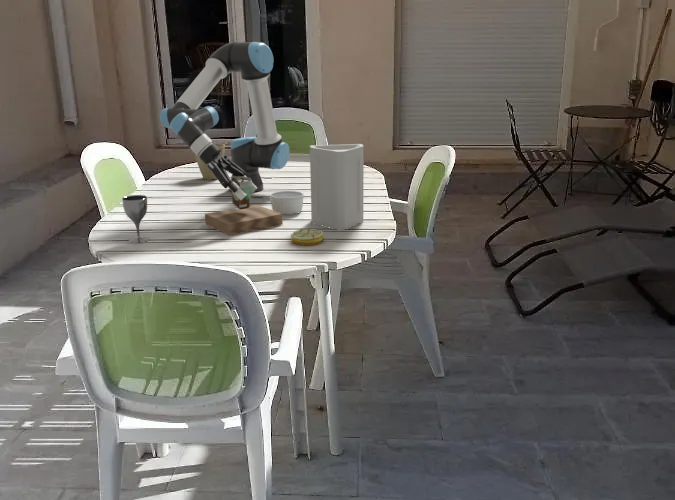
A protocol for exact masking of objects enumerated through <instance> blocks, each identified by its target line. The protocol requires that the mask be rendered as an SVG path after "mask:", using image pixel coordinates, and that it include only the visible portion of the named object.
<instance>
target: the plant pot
mask: <svg viewBox="0 0 675 500" xmlns="http://www.w3.org/2000/svg"><path fill="white" fill-rule="evenodd" d="M213 143H214V142H213ZM214 144H216V145H217V146H218V147H219V148H220V150H221V152H220V155H221V156H222V157H224V156H225V150H226V149H225V148H226V145H225V144H224V143H214ZM194 156H195V160H196V163H197V166H198V169H199V171H200V174H201V176H202V178H203V180H206V179H207V181H212V180H211V179H215V180H218V179H217V178H216V176H215V175H214V173H213V172H212V171H211V170H210V169H209V168H208V165H209V164H210V163H209V164H205V163H204V162H203V161H202V160H201V159H200V156H197V155H196V154H195V153H194Z"/></svg>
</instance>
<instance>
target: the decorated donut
mask: <svg viewBox="0 0 675 500" xmlns="http://www.w3.org/2000/svg"><path fill="white" fill-rule="evenodd" d="M290 239H291V242H292V243H293V244H295V245H299V246H315V245H318V244H320V243H321V242H323V239H324V232H323V231H322V230H320V229H315V228H302V229H297V230H295V231H293V232H292V233H291V234H290Z"/></svg>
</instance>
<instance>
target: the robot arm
mask: <svg viewBox="0 0 675 500" xmlns="http://www.w3.org/2000/svg"><path fill="white" fill-rule="evenodd" d="M273 67H274V55H273V52H272V50H271V48H270V46H268V45H267V44H266V43H264V42H258V41H246V42H245V41H242V42H240V41H238V42H237V41H234V42H233V41H232V42H228V43H226V44H224V45H222V46H220V47H219V48H217V49H216V50H215V51H214V52H213V53H211V55H210V56H209V57H208V58H207V60H206V61H205V67H203V69H202V70H201V71H200V72H199V74H198V75H197V76H196V77H195V78H194V80H193V81H192V82H191V84H190V85H189V86H188V87H187V88H186V90H184V92H183V94H181V96H180V97H179V98H178V99H177V101H176V102H175V103H174V105H173V106H172V107H166V108H165V107H164V108H163V109H162V110H161V112H160V113H159V121H160V123H161V124H162V126H163V127H165V128H167V129H171V130H172V131H173V132H174V133H175V135H176V136H177V137H179V139H180V140H182V142H183V143H185V144H186V146H187V147H188V148H189V149H191V150H192V153H194V155H195V154H196V155H197V156H200V159H201V160H202V161H203V162H204V163H205V164H209V163H210V164H209V165H208V168H209V169H210V170H211V171H212V172H213V173H214V175H215V176H216V178H217V179H216V180H218V182H219V183H220V185H221V186H222V187H223V188H224V189H229V191H230V192H231V193H232V192H233V193H234V194H235V195H236V196H237V197H238V198H239V199H240V200H242V199H243V198H244V197H245V196H246V194H245V193H244V192H243V191H242V190H241V189H240V188H239V187H238V186H237V185H236V184H235V183H234V182H232V181H231V177H230V176H229V174H231V176H242V177H248V178H250V179H251V180H252V184H253V186H251V193H250V194H253V193H257V192H261V191H263V190H264V182H263V179H262V176H261V174H260V169H268V170H281V169H283V168H284V167H285V166H286V165H287V163H288V161H289V158H290V146H289V144H288V143H287V142H285V141H283V138H282V135H281V134H279V133H278V130H277V126H276V125H277V124H276V120H275V114H274V109H273V108H274V107H273V104H272V97H271V93H270V92H271V91H270V86H269V81H268V78H269V77H270V76H271V73H270V72H272V70H273ZM231 73H240V76H241V79H242V81H244V82H245V83H246V88H247V93H248V96H249V101H250V102H249V103H250V107H251V111H252V112H251V113H252V117H253V121H254V127H255V133H256V136H245V137H239V138H234V139H232V140H231V142H230V154H231V159H230V157H228V156H227V154H224V157H222V156H221V155H220V152H221V150H220V148H219V147H218V146H217V145H216V144H217V143H216V144H214V142H213V140H212V139H211V138H210V137H209V135H207V134H206V133H205V132H207V131H208V130H210V129H213V128H214V126H216V125H217V124H218V122H219V121H220V117H219V114H218V113H219V112H218V111H217V110H216V108H214V107H213V106H209V105H208V106H207V105H206V106H205V107H202V108H201V109H200V108H199V107H200V106H201V105H202V103H203V102H204V101H205V100H206V98H207V97H208V96H209V94H210V93H211V92H212V91H213V89H214V88H215V87H216V85H217V84H218V83H219V82H220V80H221V79H222V80H223V79H225V78H226V77H227V76H228V75H229V74H231ZM228 173H229V174H228ZM262 189H263V190H262ZM260 190H261V191H260ZM256 191H257V192H256Z"/></svg>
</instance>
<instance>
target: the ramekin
mask: <svg viewBox="0 0 675 500" xmlns="http://www.w3.org/2000/svg"><path fill="white" fill-rule="evenodd" d="M304 197H305V195H304V193H303V192H301V191H298V190H297V191H296V190H281V191H275V192H272V193H270V194H269V199H270V203H271V204H270V205H271V210H273V211H276V212H278V213H281V214H282V215H284V214H289V215H296V214H299V213H301V211H302V210H303V204H304ZM298 212H299V213H298ZM295 213H296V214H295Z"/></svg>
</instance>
